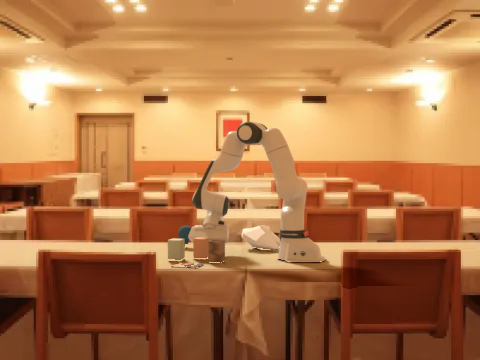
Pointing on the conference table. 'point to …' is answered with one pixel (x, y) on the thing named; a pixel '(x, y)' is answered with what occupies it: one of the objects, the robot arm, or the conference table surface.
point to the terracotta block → (200, 247)
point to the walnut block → (216, 251)
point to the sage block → (176, 249)
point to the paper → (261, 237)
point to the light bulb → (184, 233)
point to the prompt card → (191, 264)
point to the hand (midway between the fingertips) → (205, 248)
